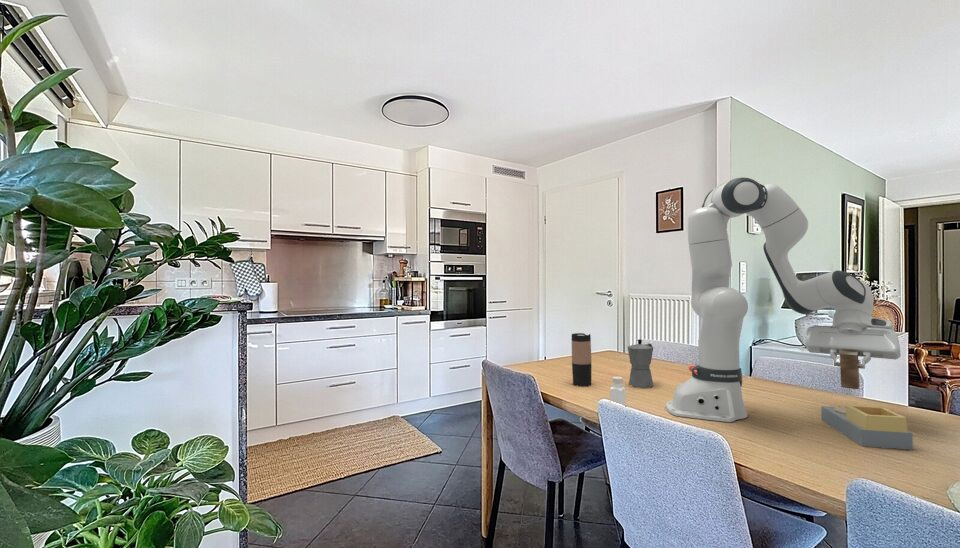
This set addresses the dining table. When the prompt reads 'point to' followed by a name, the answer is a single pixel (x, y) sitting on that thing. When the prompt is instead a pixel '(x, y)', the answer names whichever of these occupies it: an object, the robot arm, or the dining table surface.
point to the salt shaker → (618, 391)
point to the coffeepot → (640, 365)
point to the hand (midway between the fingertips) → (849, 366)
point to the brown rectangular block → (849, 369)
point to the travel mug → (581, 359)
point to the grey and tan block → (870, 425)
